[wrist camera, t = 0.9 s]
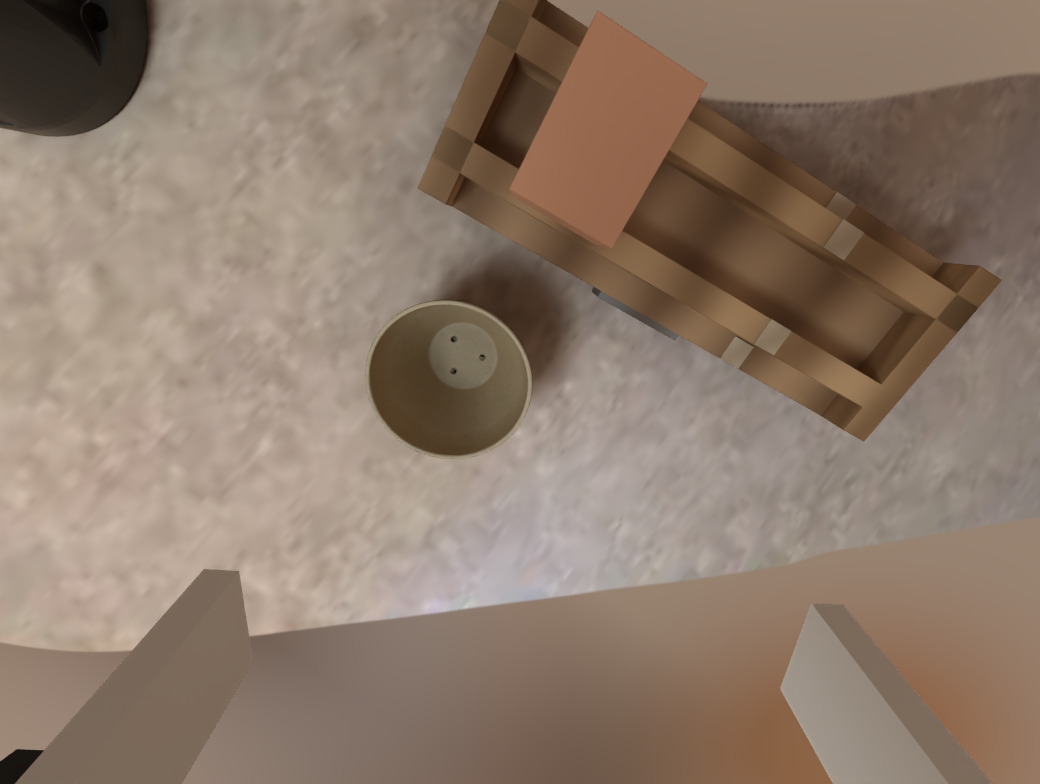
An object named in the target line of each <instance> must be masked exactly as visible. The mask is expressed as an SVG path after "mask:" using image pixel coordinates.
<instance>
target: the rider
mask: <svg viewBox="0 0 1040 784" xmlns="http://www.w3.org/2000/svg"><path fill="white" fill-rule="evenodd" d="M706 85H707V84H706V83H705V82H704V81H702V80H701V79H699V78H698V77H696V76H695V75H693V74H692V73H690V72H689V71H687V70H686V69H684V68H683V67H681V66H680V65H678V64H677V63H675V62H674V61H672V60H671V59H669V58H668V57H666V56H665V55H663V54H662V53H661V52H659V51H657V50H656V49H655V48H653V47H652V46H650V45H648V44H647V43H646V42H644V41H643V40H641V39H640V38H638V37H637V36H635V35H633V34H632V33H631V32H629V31H628V30H626V29H625V28H623V27H622V26H620V25H619V24H617V23H616V22H614V21H613V20H611V19H610V18H608V17H607V16H605V15H604V14H602V13H601V12H599V11H597V13H596V15H595V17H594V19H593V21H592V23H591V25H590V27H589V29H588V31H587V33H586V35H585V37H584V39H583V41H582V43H581V45H580V47H579V49H578V51H577V53H576V55H575V57H574V59H573V61H572V63H571V65H570V67H569V69H568V71H567V73H566V75H565V77H564V79H563V81H562V83H561V86H560V88H559V90H558V92H557V94H556V96H555V98H554V100H553V102H552V104H551V106H550V108H549V110H548V112H547V114H546V116H545V118H544V120H543V122H542V124H541V126H540V128H539V130H538V132H537V134H536V136H535V138H534V140H533V142H532V144H531V146H530V148H529V150H528V152H527V154H526V156H525V158H524V160H523V162H522V164H521V166H520V168H519V171H518V173H517V175H516V177H515V179H514V181H513V183H512V185H511V187H510V192H511V194H512V196H513V197H514V198H516V199H518V200H520V201H521V202H523V203H525V204H526V205H528V206H530V207H532V208H533V209H535V210H537V211H538V212H540V213H542V214H544V215H545V216H547V217H549V218H550V219H552V220H554V221H556V222H557V223H559V224H561V225H562V226H564V227H566V228H568V229H569V230H571V231H573V232H574V233H576V234H578V235H580V236H581V237H583V238H585V239H586V240H588V241H590V242H592V243H593V244H595V245H599V246H603V247H607V248H611V249H612V247H613V245H614V244H615V242H616V240H617V239H618V237H619V235H620V233H621V232H622V230H623V228H624V226H625V225H626V223H627V221H628V220H629V218H630V216H631V214H632V213H633V211H634V209H635V208H636V206H637V204H638V202H639V201H640V199H641V197H642V195H643V194H644V192H645V190H646V189H647V187H648V185H649V183H650V182H651V180H652V178H653V177H654V175H655V173H656V171H657V170H658V168H659V166H660V164H661V163H662V161H663V159H664V158H665V156H666V154H667V152H668V151H669V149H670V147H671V146H672V144H673V142H674V140H675V139H676V137H677V135H678V133H679V132H680V130H681V128H682V127H683V125H684V123H685V121H686V120H687V118H688V116H689V115H690V113H691V111H692V109H693V108H694V106H695V104H696V102H697V101H698V99H699V97H700V96H701V94H702V92H703V90H704V89H705V87H706Z"/></svg>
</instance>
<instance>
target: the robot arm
mask: <svg viewBox="0 0 1040 784" xmlns="http://www.w3.org/2000/svg"><path fill="white" fill-rule="evenodd" d="M146 44H147V16H146V7H145V0H0V128H4V129H9V130H14V131H19V132H25V133H30V134H35V135H41V136H57V137H58V136H69V135H75V134H80V133H83V132H86V131H89V130H91V129H94V128H96V127H98V126H100V125H101V124H103V123H105V122H106V121H107V120H109V119H110V118H111V117H113V116H114V115H115V114H116V113H117V112H118V111H119V110H120V109H121V108H122V107H123V105H124V104H125V103H126V101H127V100H128V99H129V97H130V95H131V94H132V92H133V90H134V88H135V86H136V84H137V82H138V79H139V77H140V74H141V70H142V67H143V63H144V58H145V52H146ZM252 663H253V659H252V653H251V646H250V639H249V633H248V626H247V620H246V614H245V607H244V601H243V594H242V588H241V581H240V575H239V571H227V570H209V569H204V570H203V571H202V572H201V573H200V574H199V576H198V577H197V578H196V579H195V580H194V581H193V582H192V584H191V585H190V586H189V587H188V588H187V589H186V590H185V591H184V593H183V594H182V595H181V596H180V597H179V598H178V599H177V601H176V602H175V603H174V604H173V605H172V606H171V607H170V608H169V610H168V611H167V612H166V613H165V614H164V615H163V616H162V618H161V619H160V620H159V621H158V622H157V623H156V624H155V625H154V627H153V628H152V629H151V630H150V631H149V632H148V633H147V635H146V636H145V637H144V638H143V639H142V640H141V641H140V642H139V644H138V645H137V646H136V647H135V648H134V649H133V650H132V652H131V653H130V654H129V655H128V656H127V657H126V658H125V660H124V661H123V662H122V663H121V664H120V665H119V666H118V667H117V669H116V670H115V671H114V672H113V673H112V674H111V675H110V677H109V678H108V679H107V680H106V681H105V682H104V683H103V685H102V686H101V687H100V688H99V689H98V690H97V691H96V692H95V693H94V695H93V696H92V697H91V698H90V699H89V700H88V701H87V703H86V704H85V705H84V706H83V707H82V708H81V710H80V711H79V712H78V713H77V714H76V715H75V716H74V717H73V718H72V720H71V721H70V722H69V723H68V724H67V725H66V726H65V728H64V729H63V730H62V731H61V732H60V733H59V734H58V736H57V737H56V738H55V739H54V740H53V741H52V742H51V743H50V745H49V746H48V747H47V748H46V749H45V750H43V751H42V750H20V749H17V750H15V751H14V752H13V753H11V754H10V755H8V756H7V757H6V758H5V759H3V760H2V761H0V784H182V782H183V781H184V779H185V777H186V775H187V774H188V772H189V770H190V769H191V767H192V765H193V764H194V762H195V760H196V759H197V757H198V755H199V753H200V752H201V750H202V748H203V747H204V745H205V743H206V742H207V740H208V738H209V736H210V734H211V733H212V731H213V730H214V728H215V726H216V724H217V723H218V721H219V719H220V718H221V716H222V714H223V713H224V711H225V709H226V707H227V706H228V704H229V703H230V701H231V699H232V697H233V696H234V694H235V692H236V690H237V689H238V687H239V686H240V684H241V682H242V680H243V679H244V677H245V675H246V674H247V672H248V670H249V668H250V667H251V665H252ZM780 689H781V691H782V693H783V695H784V696H785V698H786V700H787V702H788V704H789V706H790V707H791V709H792V711H793V713H794V714H795V716H796V718H797V720H798V722H799V724H800V725H801V727H802V729H803V731H804V732H805V734H806V736H807V738H808V740H809V741H810V743H811V745H812V747H813V749H814V750H815V752H816V754H817V756H818V758H819V759H820V761H821V763H822V765H823V767H824V768H825V770H826V772H827V774H828V776H829V777H830V779H831V781H832V782H833V784H993V783H992V782H991V780H989V778H988V777H987V776H986V775H985V774H984V772H983V771H982V770H981V769H980V767H979V766H978V765H977V764H976V763H975V761H974V760H973V759H972V758H971V757H970V755H969V754H968V753H967V752H966V751H965V749H964V748H963V747H962V746H961V745H960V744H959V742H958V741H957V740H956V739H955V738H954V736H953V735H952V734H951V733H950V732H949V730H948V729H947V728H946V727H945V726H944V724H943V723H942V722H941V721H940V720H939V719H938V717H937V716H936V715H935V714H934V713H933V712H932V710H931V709H930V708H929V707H928V705H927V704H926V703H925V702H924V701H923V699H922V698H921V697H920V696H919V695H918V694H917V692H916V691H915V690H914V689H913V688H912V686H911V685H910V684H909V683H908V682H907V680H906V679H905V678H904V677H903V676H902V675H901V673H900V672H899V671H898V670H897V668H896V667H895V666H894V665H893V664H892V663H891V661H890V660H889V659H888V658H887V657H886V655H885V654H884V653H883V652H882V651H881V650H880V648H879V647H878V646H877V645H876V644H875V642H874V641H873V640H872V639H871V637H870V636H869V635H868V634H867V633H866V632H865V630H864V629H863V628H862V627H861V626H860V624H859V623H858V622H857V621H856V620H855V618H854V617H853V616H852V615H851V614H850V612H849V611H848V610H847V609H846V608H845V606H843V605H831V604H813V603H812V604H811V606H810V609H809V611H808V614H807V617H806V620H805V622H804V625H803V628H802V631H801V634H800V636H799V639H798V641H797V644H796V647H795V650H794V653H793V655H792V658H791V661H790V663H789V666H788V669H787V672H786V674H785V677H784V680H783V682H782V685H781V688H780Z"/></svg>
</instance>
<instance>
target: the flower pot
mask: <svg viewBox="0 0 1040 784" xmlns="http://www.w3.org/2000/svg"><path fill="white" fill-rule="evenodd" d="M451 338H453V339H454V342H453V341H452V340H451ZM480 355H484V356H483V357H482V356H480ZM454 370H456V373H455V374H454ZM365 376H366V388H367V393H368V397H369V400H370V403H371V405H372V408H373V410H374V412H375V414H376V416H377V417H378V419H379V420H380V422H381V423H382V424H383V426H384V427H385V428H386V429H387V430H388V431H389V432H390V433H391V434H392V435H393V436H394V437H395V438H396V439H398V440H399V441H400V442H402V443H403V444H405V445H406V446H408V447H409V448H411V449H413V450H415V451H417V452H420V453H422V454H425V455H429V456H432V457H437V458H443V459H464V458H470V457H475V456H478V455H481V454H484V453H486V452H488V451H491V450H492V449H494V448H496V447H498V446H499V445H501V444H502V443H503V442H505V441H506V440H507V439H508V438H509V437H510V436H511V435H512V434H513V433H514V432H515V431H516V430H517V428H518V427H519V425H520V424H521V422H522V421H523V419H524V417H525V415H526V413H527V410H528V407H529V404H530V400H531V394H532V374H531V369H530V364H529V361H528V358H527V355H526V352H525V350H524V348H523V346H522V344H521V342H520V341H519V339H518V338H517V336H516V335H515V333H514V332H513V331H512V330H511V328H510V327H509V326H508V325H507V324H506V323H505V322H504V321H503V320H501V319H500V318H499V317H498V316H496V315H495V314H493V313H492V312H490V311H488V310H486V309H485V308H482V307H480V306H478V305H475V304H472V303H468V302H464V301H458V300H436V301H429V302H425V303H421V304H418V305H415V306H412V307H410V308H408V309H406V310H404V311H402V312H400V313H399V314H397V315H396V316H395V317H393V318H392V319H391V320H390V321H389V322H388V323H387V324H386V325H385V326H384V327H383V328H382V329H381V330H380V332H379V333H378V335H377V336H376V338H375V340H374V342H373V344H372V346H371V348H370V351H369V354H368V358H367V362H366V374H365Z"/></svg>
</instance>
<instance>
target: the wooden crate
mask: <svg viewBox="0 0 1040 784" xmlns="http://www.w3.org/2000/svg"><path fill="white" fill-rule="evenodd" d="M588 29H589V28H587V27H586V26H584V25H583V24H581V23H580V22H578V21H577V20H575V19H574V18H572V17H570V16H569V15H568V14H566V13H564V12H563V11H562V10H560V9H559V8H557V7H556V6H554V5H553V4H551V3H549V2H548V1H547V0H500V1H499V3H498V5H497V7H496V10H495V12H494V14H493V17H492V19H491V21H490V24H489V26H488V28H487V30H486V33H485V35H484V37H483V40H482V42H481V44H480V46H479V49H478V51H477V53H476V56H475V58H474V60H473V63H472V65H471V67H470V69H469V72H468V74H467V76H466V79H465V81H464V83H463V85H462V88H461V90H460V92H459V95H458V97H457V99H456V102H455V104H454V106H453V108H452V111H451V113H450V115H449V118H448V120H447V122H446V124H445V127H444V129H443V131H442V134H441V136H440V138H439V141H438V143H437V145H436V147H435V150H434V152H433V154H432V157H431V159H430V161H429V163H428V166H427V168H426V170H425V173H424V175H423V177H422V180H421V182H420V184H419V186H418V189H419V190H421V191H423V192H425V193H427V194H428V195H430V196H432V197H434V198H435V199H437V200H439V201H441V202H442V203H444V204H446V205H450V206H453V207H454V208H456V209H458V210H460V211H461V212H463V213H465V214H467V215H468V216H470V217H472V218H474V219H475V220H477V221H479V222H481V223H482V224H484V225H486V226H488V227H490V228H491V229H493V230H495V231H497V232H498V233H500V234H502V235H504V236H505V237H507V238H509V239H511V240H512V241H514V242H516V243H518V244H519V245H521V246H523V247H525V248H527V249H528V250H530V251H532V252H534V253H535V254H537V255H539V256H541V257H542V258H544V259H546V260H548V261H549V262H551V263H553V264H555V265H556V266H558V267H560V268H562V269H564V270H565V271H567V272H569V273H571V274H572V275H574V276H576V277H578V278H579V279H581V280H583V281H585V282H586V283H588V284H590V285H592V286H593V287H594V288H593V290H592V292H593V293H594V294H595V295H596V296H597V297H599V298H600V299H602V300H604V301H606V302H608V303H609V304H611V305H613V306H615V307H616V308H618V309H620V310H622V311H624V312H625V313H627V314H629V315H631V316H632V317H634V318H636V319H638V320H639V321H641V322H643V323H645V324H647V325H648V326H650V327H652V328H654V329H655V330H657V331H659V332H661V333H662V334H664V335H666V336H668V337H670V338H671V339H673V340H676V338H677V337H678V335H680V336H682V337H683V338H685V339H687V340H689V341H690V342H692V343H694V344H696V345H697V346H699V347H701V348H703V349H704V350H706V351H708V352H710V353H711V354H713V355H715V356H717V357H719V358H720V359H722V360H724V361H725V362H727V363H729V364H731V365H732V366H734V367H736V368H738V369H740V370H741V371H743V372H745V373H747V374H748V375H750V376H752V377H754V378H756V379H757V380H759V381H761V382H763V383H764V384H766V385H768V386H770V387H771V388H773V389H775V390H777V391H778V392H780V393H782V394H784V395H785V396H787V397H789V398H791V399H793V400H794V401H796V402H798V403H800V404H801V405H803V406H805V407H807V408H808V409H810V410H812V411H814V412H815V413H817V414H819V415H821V416H822V417H824V418H825V419H827V420H829V421H830V422H832V423H833V424H835V425H836V426H838V427H840V428H841V429H843V430H844V431H846V432H848V433H850V434H852V435H853V436H855V437H857V438H859V439H860V440H862V441H865V440H866V439H867V437H868V436H869V435H870V434H871V433H872V432H873V430H874V429H875V428H876V427H877V426H878V425H879V423H880V422H881V421H882V420H883V419H884V418H885V416H886V415H887V414H888V413H889V412H890V410H891V409H892V408H893V407H894V406H895V405H896V403H897V402H898V401H899V400H900V399H901V398H902V396H903V395H904V394H905V393H906V392H907V391H908V389H909V388H910V387H911V386H912V385H913V384H914V382H915V381H916V380H917V379H918V378H919V377H920V375H921V374H922V373H923V372H924V371H925V370H926V368H927V367H928V366H929V365H930V364H931V363H932V361H933V360H934V359H935V358H936V357H937V356H938V354H939V353H940V352H941V351H942V350H943V349H944V347H945V346H946V345H947V344H948V343H949V341H950V340H951V339H952V338H953V337H954V336H955V334H956V333H957V332H958V331H959V330H960V329H961V327H962V326H963V325H964V324H965V323H966V322H967V320H968V319H969V318H970V317H971V316H972V315H973V313H974V312H975V311H976V310H977V309H978V308H979V306H980V305H981V304H982V303H983V302H984V301H985V299H986V298H987V297H988V296H989V295H990V294H991V292H992V291H993V290H994V289H995V288H996V287H997V285H998V284H999V283H1000V282H1001V281H1002V280H1001V279H999V278H998V277H996V276H995V275H993V274H992V273H990V272H989V271H987V270H986V269H984V268H983V267H981V266H976V265H964V264H952V263H943V262H942V261H940V260H939V259H937V258H936V257H934V256H932V255H931V254H929V253H928V252H926V251H925V250H923V249H922V248H920V247H919V246H917V245H916V244H914V243H913V242H911V241H910V240H908V239H907V238H905V237H904V236H902V235H901V234H899V233H898V232H896V231H895V230H893V229H892V228H890V227H889V226H887V225H886V224H884V223H883V222H881V221H880V220H878V219H876V218H875V217H873V216H872V215H870V214H869V213H867V212H866V211H864V210H863V209H861V208H860V207H858V206H857V204H855V203H854V202H852V201H851V200H849V199H848V198H846V197H845V196H843V195H842V194H840V193H839V192H836V191H834V190H833V189H831V188H830V187H828V186H827V185H825V184H823V183H822V182H820V181H819V180H817V179H816V178H814V177H813V176H811V175H810V174H808V173H807V172H805V171H804V170H802V169H801V168H799V167H798V166H796V165H795V164H793V163H792V162H790V161H789V160H787V159H786V158H784V157H783V156H781V155H780V154H778V153H777V152H775V151H774V150H772V149H771V148H769V147H767V146H766V145H764V144H763V143H761V142H760V141H758V140H757V139H755V138H754V137H752V136H751V135H749V134H748V133H746V132H745V131H743V130H742V129H740V128H739V127H737V126H736V125H734V124H733V123H731V122H730V121H728V120H727V119H725V118H724V117H722V116H721V115H719V114H718V113H716V112H714V111H713V110H711V109H710V108H708V107H707V106H705V105H704V104H702V103H701V102H699V101H697V102H696V104H695V106H694V108H693V109H692V111H691V113H690V115H689V116H688V118H687V120H686V121H685V123H684V125H683V127H682V128H681V130H680V132H679V133H678V135H677V137H676V139H675V140H674V142H673V144H672V146H671V147H670V149H669V151H668V152H667V154H666V156H665V158H664V159H663V161H662V163H661V164H660V166H659V168H658V170H657V171H656V173H655V175H654V177H653V178H652V180H651V182H650V183H649V185H648V187H647V189H646V190H645V192H644V194H643V195H642V197H641V199H640V201H639V202H638V204H637V206H636V208H635V209H634V211H633V213H632V214H631V216H630V218H629V220H628V221H627V223H626V225H625V226H624V228H623V230H622V232H621V233H620V235H619V237H618V239H617V240H616V242H615V244H614V245H613V247H612V249H611V248H607V247H603V246H599V245H595V244H593V243H592V242H590V241H588V240H586V239H585V238H583V237H581V236H580V235H578V234H576V233H574V232H573V231H571V230H569V229H568V228H566V227H564V226H562V225H561V224H559V223H557V222H556V221H554V220H552V219H550V218H549V217H547V216H545V215H544V214H542V213H540V212H538V211H537V210H535V209H533V208H532V207H530V206H528V205H526V204H525V203H523V202H521V201H520V200H518V199H516V198H514V197H513V196H512V194H511V192H510V187H511V185H512V183H513V181H514V179H515V177H516V175H517V173H518V171H519V168H520V166H521V164H522V162H523V160H524V158H525V156H526V154H527V152H528V150H529V148H530V146H531V144H532V142H533V140H534V138H535V136H536V134H537V132H538V130H539V128H540V126H541V124H542V122H543V120H544V118H545V116H546V114H547V112H548V110H549V108H550V106H551V104H552V102H553V100H554V98H555V96H556V94H557V92H558V90H559V88H560V86H561V83H562V81H563V79H564V77H565V75H566V73H567V71H568V69H569V67H570V65H571V63H572V61H573V59H574V57H575V55H576V53H577V51H578V49H579V47H580V45H581V43H582V41H583V39H584V37H585V35H586V33H587V31H588Z"/></svg>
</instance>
